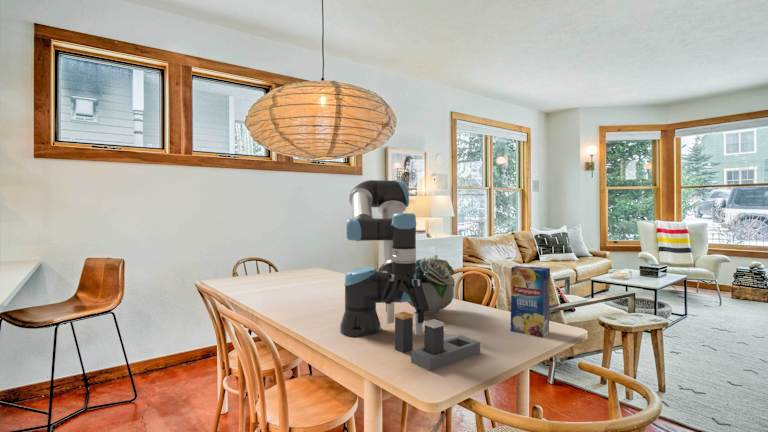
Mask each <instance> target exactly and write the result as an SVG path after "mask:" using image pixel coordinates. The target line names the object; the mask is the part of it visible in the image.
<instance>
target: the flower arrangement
mask: <svg viewBox="0 0 768 432" xmlns="http://www.w3.org/2000/svg"><path fill="white" fill-rule="evenodd" d="M414 262H415V263H416V279H421V280H422V288H423V291H424V294H425V297H426V300H427V303H428V307H429V311H425V312H424V316H437V315H438V314H440V311H441V310H443V309H445V308H447V307H448V306H449V305H450V304H452V301H453V300H454V299H453V298H454V293H455V292H454V291H455V283H456V282H455V278H454V277H453V275H454V274H455V271H454V268H453V267H452V266H451V265H450V263H449V262H448V261H447V260H446V259H444V260H443V259H440V258H439V259H438V258H437V259H436V258H434V257H429V258H428V257H427V258H425V257H424V258H421V259H416V260H415V261H414ZM407 303H408V304H409V305H410V306H411V307H412V308H414V309H415V307H414V305H413V303H412V301H410V302H407ZM419 309H420V308H419Z"/></svg>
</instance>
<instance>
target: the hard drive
mask: <svg viewBox="0 0 768 432" xmlns="http://www.w3.org/2000/svg"><path fill="white" fill-rule="evenodd" d="M458 336H459V335H456V334H452V333H448V332H445V331H444V341H445V340H448V339H451V338H454V337H458Z"/></svg>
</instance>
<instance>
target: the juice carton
mask: <svg viewBox="0 0 768 432" xmlns="http://www.w3.org/2000/svg"><path fill="white" fill-rule="evenodd" d="M510 270H511V271H510V272H511V277H510V281H511V282H510V332H513V333H517V334H524V335H527V336H528V335H529V336H533V337H538V338H544V337H546V336H547V335H548V333H550V292H551V291H550V283H551V281H550V280H551V278H550V275H551V268H550V267H542V266H530V265H522V264H521V265H520V264H517V265H514V266H512V267H511V269H510Z"/></svg>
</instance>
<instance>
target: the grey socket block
mask: <svg viewBox="0 0 768 432" xmlns="http://www.w3.org/2000/svg"><path fill="white" fill-rule="evenodd" d="M457 336H458V337H454V338H451V339H448V340H445V341H444V352H442V353H439V354H436V355H432V354H430V353H427V352H425V351H424V346H423V347H420V348H415V349H413V350H412V351H410V364H414V365H415V366H417V367H420V368H422V369H424V370H426V371H428V372H433V371H435V370H438V369H442V368H445V367H446V366H449V365H452V364H455V363H458V362H460V361H462V360H463V361H464V360H466V359H468V358H471V357H474V356H478V355H479V354H481V342H480V341H478V340H475V339H472V338H469V337H466V336H463V335H457Z"/></svg>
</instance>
